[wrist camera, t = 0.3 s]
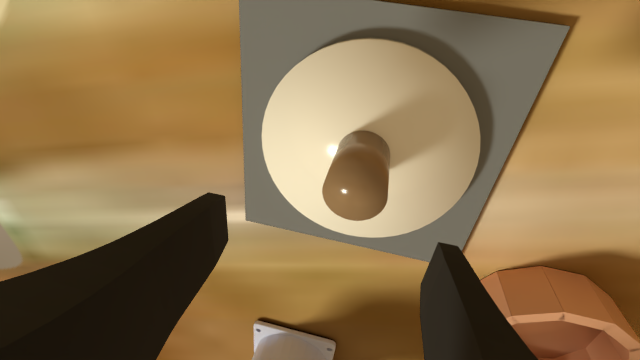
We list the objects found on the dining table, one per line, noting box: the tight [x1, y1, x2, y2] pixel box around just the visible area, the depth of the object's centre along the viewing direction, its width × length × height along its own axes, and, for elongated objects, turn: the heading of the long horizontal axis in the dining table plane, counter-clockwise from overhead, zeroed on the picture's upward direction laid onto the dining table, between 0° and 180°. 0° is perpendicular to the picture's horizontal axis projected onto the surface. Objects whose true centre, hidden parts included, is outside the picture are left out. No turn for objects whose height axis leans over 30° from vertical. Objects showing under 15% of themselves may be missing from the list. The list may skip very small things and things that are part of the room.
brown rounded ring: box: [480, 266, 640, 360], centre depth 22 cm, size 10×10×4 cm
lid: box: [262, 37, 480, 238], centre depth 17 cm, size 12×12×5 cm
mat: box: [239, 0, 570, 262], centre depth 19 cm, size 15×15×1 cm
